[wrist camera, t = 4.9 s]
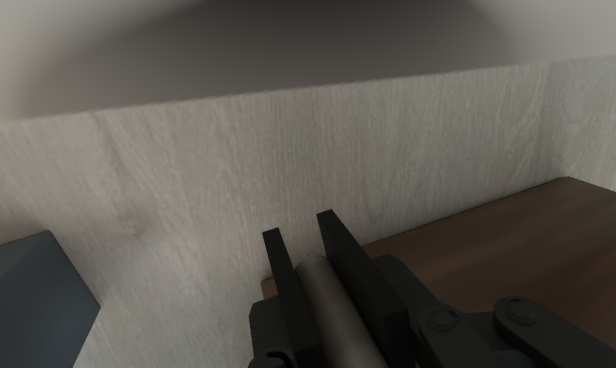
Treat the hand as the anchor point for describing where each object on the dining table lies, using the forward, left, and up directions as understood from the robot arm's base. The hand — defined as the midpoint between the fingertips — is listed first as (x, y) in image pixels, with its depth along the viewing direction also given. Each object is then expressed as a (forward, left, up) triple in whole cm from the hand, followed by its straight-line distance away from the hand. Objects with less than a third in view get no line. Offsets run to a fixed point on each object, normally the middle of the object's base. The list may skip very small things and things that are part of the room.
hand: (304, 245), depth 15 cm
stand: (+1, -16, -6) cm, 17 cm away
